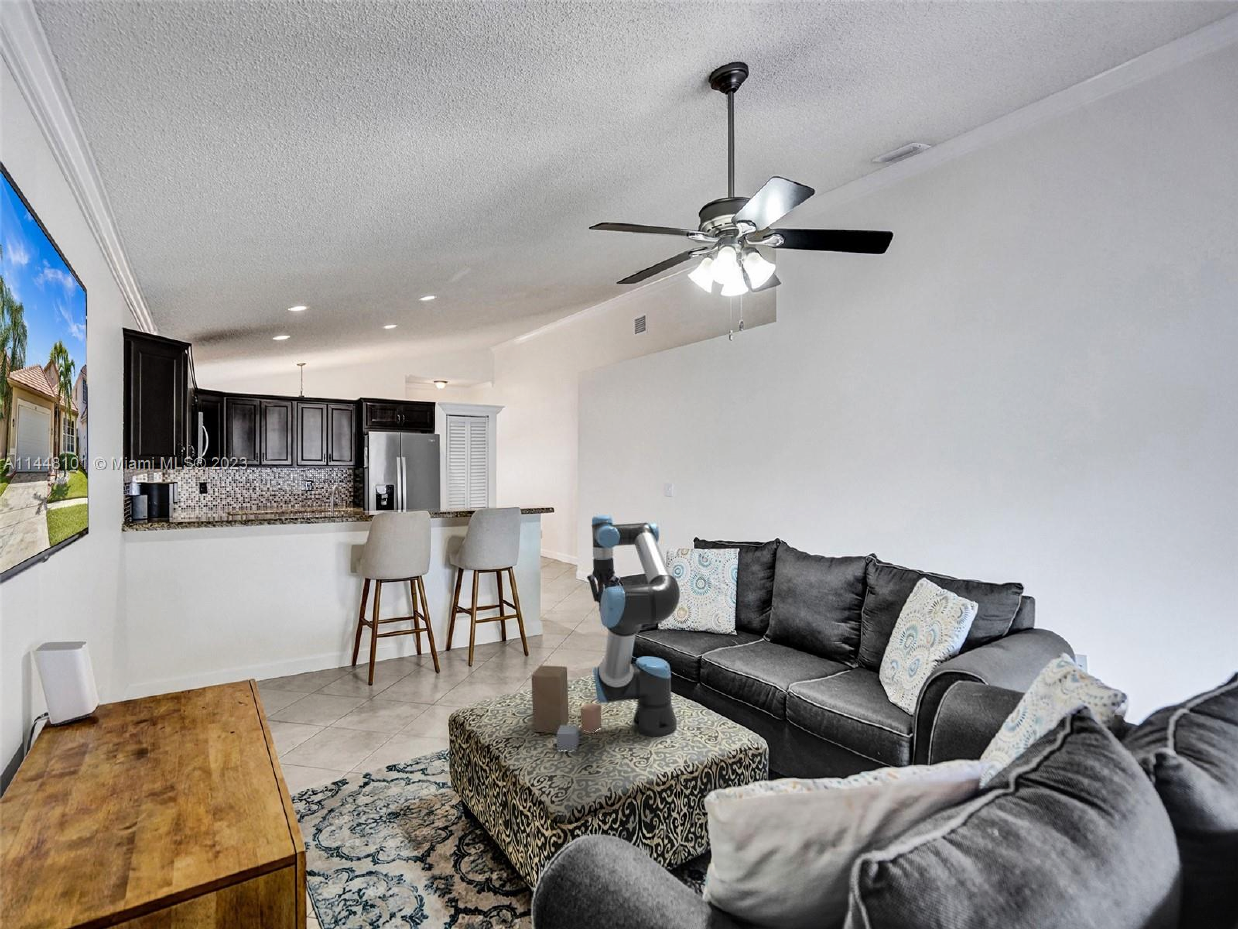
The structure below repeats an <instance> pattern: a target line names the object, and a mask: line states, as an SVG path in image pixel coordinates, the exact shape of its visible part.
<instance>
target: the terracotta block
mask: <svg viewBox="0 0 1238 929" xmlns="http://www.w3.org/2000/svg"><path fill="white" fill-rule="evenodd" d="M580 723H581V724H580V725H581V726H580V728H581V729H582V730H585V731H589V732H595V731H596V730H597V729H599V728H601V727H602V726H603V725H602V705H600V704H597V703H592V702H588V703H586V704H584V705H583V706H581V707H580ZM601 729H602V728H601Z"/></svg>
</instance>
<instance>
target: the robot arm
mask: <svg viewBox="0 0 1238 929" xmlns="http://www.w3.org/2000/svg"><path fill="white" fill-rule="evenodd" d="M591 532H592V557H593V559H592V565H593V570H592V573H591V574H588V575H587V577H586V579H587V580H588V583H589V585H590V588H591V594H592V598H593V601H594V602H597V603H598V610H599V614H600V615H599V616H600V621H601V624H602V626H603V627H605V628H606V629H607V630H608V631H607V637H606V638H607V639H606V646H605V655H604V659H603V660H602V661H601V663H600V665H599V666H596V667H594V668H593V670H592V671H593V679H594V686H595V692H596V698H597V701H598V702H599V703H601V704H603V703H604V704H605V703H607V704H610V703H617V702H625V701H626V702H627V701H635V700H637V701H636V702H637V705H636V708H635V712H634V715H633V717H632V728H633V729H634V731H636V732H637V733H638V734H641V735H644V736H648V737H661V736H662V737H663V736H667V735H669V734H671V733H673V732H675V731H676V730H677V727H678V724H677V723H678V721H677V716H676V714H675V711H674V708H673V705H672V685H671V684H672V683H671V682H672V681H671V678H672V675H671V666H670V663H668V661H666V660H664V659H663V658H660V657H656V656H640V657H638V658H636V661H635V663H631V662H632V657H633V650H634V645H635V638H636V635H637V634H638V633H639V632H640V630H642V626H643V625H649V624H659V623H662V622H664V621H666V620H667V619H669V617H671V616H672V614H673V613H674V612H675V611H676V609H677V608H678V605H679V601H680V597H681V591H680V586H679V584H678V581H677V579H676V577H674V575H672V574H671V573H670V570H669V568H668V565H667V564H666V561H665V558H664V556H663V554H662V551H661V549H660V547H659V545H658V542H659V538H660V533H659V532H660V530H659V527H658V524H657V523H655V522H639V523H638V522H637V523H635V522H634V523H621V524H617V523H616V524H614V522H613V517H612V516H611V515H606V514H605V515H602V514H601V515H595V516H593V517H592V518H591ZM618 546H634V547H635V549H636V552H637V556H638V558H639V560H640V564H641V566H642V569H643V573H644V575H645V577H646V580H647V583H646V584H645V583H644V584H634V585H619V582H620V581H621V579H622V577H621V576H620V575H619V576H618V575H616V572H615V570H614V565H615V564H614V558H613V557H614V547H618ZM612 580H613V582H612V584H611V581H612ZM596 581H597V583H596ZM611 585H612V586H611Z"/></svg>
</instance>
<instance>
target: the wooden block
mask: <svg viewBox="0 0 1238 929" xmlns="http://www.w3.org/2000/svg"><path fill="white" fill-rule="evenodd" d="M568 690H569V688H568V667H567V666H562V665H561V666H556V665H540V666H539V667H538V668H537V669H536V670H535V671H534V672H533V674H532V675H531V701H532V705H531V706H532V724H533V726H532V728H533V733H535V732H545V733H544V734H549V733H557V732H558V730H559V727H560V725H568V723H569V721H570V720H569V718H570V714H569V691H568Z"/></svg>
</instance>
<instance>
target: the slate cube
mask: <svg viewBox="0 0 1238 929" xmlns="http://www.w3.org/2000/svg"><path fill="white" fill-rule="evenodd" d="M579 734H580V732H579V725H572V724H571V725H570V724H569V725H568V724H567V725H560V727H559V730H558V732H557V734H556V750H560V751H561V750H570V751H572V750H574V751H575V750H576V748H577V749H578V747H579V745H578V743H579V744H580V735H579ZM577 746H578V747H577ZM576 751H577V750H576Z"/></svg>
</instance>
